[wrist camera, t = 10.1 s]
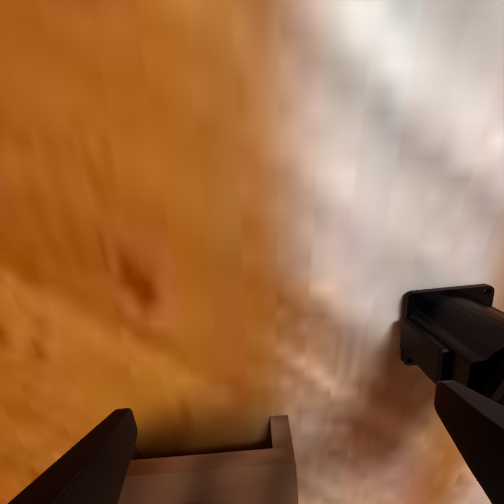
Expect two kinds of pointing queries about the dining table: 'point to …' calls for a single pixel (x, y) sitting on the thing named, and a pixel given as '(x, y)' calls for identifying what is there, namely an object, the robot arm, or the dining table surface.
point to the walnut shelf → (217, 475)
